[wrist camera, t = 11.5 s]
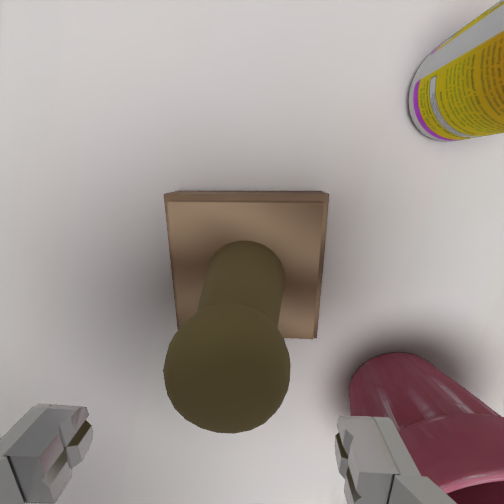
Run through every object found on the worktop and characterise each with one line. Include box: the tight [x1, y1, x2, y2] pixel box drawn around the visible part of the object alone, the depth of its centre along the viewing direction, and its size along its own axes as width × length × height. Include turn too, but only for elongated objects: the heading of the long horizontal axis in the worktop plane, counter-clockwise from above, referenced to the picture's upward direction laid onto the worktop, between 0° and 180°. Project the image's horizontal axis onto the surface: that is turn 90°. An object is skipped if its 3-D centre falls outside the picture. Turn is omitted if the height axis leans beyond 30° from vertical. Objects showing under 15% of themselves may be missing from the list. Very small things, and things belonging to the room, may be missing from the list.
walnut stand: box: [164, 191, 329, 339], centre depth 21 cm, size 12×12×4 cm
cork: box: [163, 241, 290, 433], centre depth 14 cm, size 6×6×11 cm
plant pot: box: [349, 352, 504, 504], centre depth 21 cm, size 14×14×13 cm
